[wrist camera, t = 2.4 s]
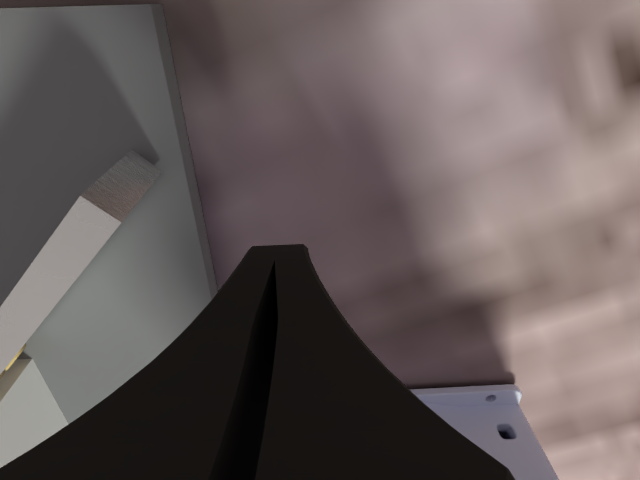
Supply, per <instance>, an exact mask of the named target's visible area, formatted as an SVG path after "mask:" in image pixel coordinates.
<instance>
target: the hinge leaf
mask: <svg viewBox="0 0 640 480" xmlns="http://www.w3.org/2000/svg"><path fill="white" fill-rule="evenodd" d="M161 172H162V171H161V170H159V169H158V168H157V167H155V166H154V165H153V164H151V163H150V162H149V161H147V160H146V159H145V158H143V157H142V156H140V155H139V154H138V153H136V152H135V151H134V150H130V151H129V152H128V153H127V154H126V155H125V156H124V157H123V158H122V159H120V160H119V161H118V162H117V163H116V164H115V165H114V166H113V167H112V168H110V169H109V170H108V171H107V172H106V173H105V174H104V175H103V176H102V177H100V178H99V179H98V180H97V181H96V182H95V183H94V184H93V185H91V186H90V187H89V188H88V189H87V190H86V191H85V192H84V193H83V194H81V195H80V197H79V198H78V199H77V201H76V202H75V204H74V205H73V206H72V208H71V209H70V211H69V212H68V213H67V215H66V216H65V217H64V219H63V220H62V222H61V223H60V224H59V226H58V227H57V229H56V230H55V231H54V233H53V234H52V236H51V237H50V238H49V240H48V241H47V243H46V244H45V245H44V247H43V248H42V250H41V251H40V252H39V254H38V255H37V256H36V258H35V259H34V261H33V262H32V263H31V265H30V266H29V268H28V269H27V270H26V272H25V273H24V275H23V276H22V277H21V279H20V280H19V282H18V283H17V284H16V286H15V287H14V289H13V290H12V291H11V293H10V294H9V296H8V297H7V298H6V300H5V301H4V302H3V304H2V305H1V307H0V379H1V378H2V377H3V375H4V374H5V368H6V367H7V366H8V364H9V363H10V362H11V361H12V359H13V358H14V357H15V356H16V354H17V353H18V352H19V351H20V349H21V348H22V347H23V346H24V344H25V343H26V342H27V341H28V339H29V338H30V337H31V336H32V334H33V333H34V332H35V330H36V329H37V328H38V327H39V325H40V324H41V323H42V322H43V320H44V319H45V318H46V317H47V315H48V314H49V313H50V312H51V310H52V309H53V308H54V307H55V305H56V304H57V303H58V302H59V300H60V299H61V298H62V297H63V295H64V294H65V293H66V292H67V290H68V289H69V288H70V287H71V285H72V284H73V283H74V282H75V280H76V279H77V278H78V277H79V275H80V274H81V273H82V272H83V270H84V269H85V268H86V267H87V265H88V264H89V263H90V262H91V260H92V259H93V258H94V256H95V255H96V254H97V253H98V251H99V250H100V249H101V248H102V246H103V245H104V244H105V243H106V241H107V240H108V239H109V238H110V236H111V235H112V234H113V233H114V231H115V230H116V229H117V228H118V226H119V225H120V224H121V223H122V221H123V220H124V219H125V218H126V216H127V215H128V214H129V213H130V211H131V210H132V209H133V208H134V206H135V205H136V204H137V202H138V201H139V200H140V199H141V197H142V196H143V195H144V194H145V192H146V191H147V190H148V189H149V187H150V186H151V185H152V184H153V182H154V181H155V180H156V179H157V177H158V176H159V175H160V174H161Z"/></svg>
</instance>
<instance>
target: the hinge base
mask: <svg viewBox="0 0 640 480" xmlns="http://www.w3.org/2000/svg"><path fill="white" fill-rule="evenodd" d="M130 150H134V151H135V152H136V153H138V154H139V155H140V156H142V157H143V158H145V159H146V160H147V161H149V162H150V163H151V164H153V165H154V166H155V167H157V168H158V169H159V170H161V171H162V172H161V174H160V175H159V176H158V177H157V179H156V180H155V181H154V182H153V184H152V185H151V186H150V187H149V189H148V190H147V191H146V192H145V194H144V195H143V196H142V197H141V199H140V200H139V201H138V202H137V204H136V205H135V206H134V208H133V209H132V210H131V211H130V213H129V214H128V215H127V216H126V218H125V219H124V220H123V221H122V223H121V224H120V225H119V226H118V228H117V229H116V230H115V231H114V233H113V234H112V235H111V236H110V238H109V239H108V240H107V241H106V243H105V244H104V245H103V246H102V248H101V249H100V250H99V251H98V253H97V254H96V255H95V256H94V258H93V259H92V260H91V262H90V263H89V264H88V265H87V267H86V268H85V269H84V270H83V272H82V273H81V274H80V275H79V277H78V278H77V279H76V280H75V282H74V283H73V284H72V285H71V287H70V288H69V289H68V290H67V292H66V293H65V294H64V295H63V297H62V298H61V299H60V300H59V302H58V303H57V304H56V305H55V307H54V308H53V309H52V310H51V312H50V313H49V314H48V315H47V317H46V318H45V319H44V320H43V322H42V323H41V324H40V325H39V327H38V328H37V329H36V330H35V332H34V333H33V334H32V336H31V337H30V338H29V339H28V341H27V342H26V343H25V344H24V346H23V347H22V348H21V349H20V351H19V352H18V353H17V354H16V356H15V357H14V358H13V359H12V361H11V362H10V363H9V364H8V366H7V367H6V368H5V374H4V375H3V377H2V378H1V379H0V468H1V467H3V466H4V465H6V464H7V463H9V462H11V461H12V460H14V459H16V458H17V457H19V456H21V455H22V454H24V453H26V452H27V451H29V450H30V449H32V448H34V447H35V446H37V445H38V444H40V443H41V442H43V441H44V440H46V439H47V438H49V437H50V436H52V435H53V434H55V433H56V432H58V431H59V430H61V429H62V428H64V427H65V426H67V425H68V424H70V423H71V422H73V421H74V420H76V419H77V418H79V417H80V416H81V415H83V414H84V413H85V412H87V411H88V410H90V409H91V408H92V407H94V406H95V405H97V404H98V403H99V402H101V401H102V400H104V399H105V398H106V397H108V396H109V395H110V394H111V393H113V392H114V391H115V390H116V389H118V388H119V387H120V386H121V385H123V384H124V383H125V382H126V381H128V380H129V379H130V378H131V377H133V376H134V375H135V374H136V373H138V372H139V371H140V370H141V369H143V368H144V367H145V366H146V365H148V364H149V363H150V362H151V361H152V360H154V359H155V358H156V357H157V356H158V355H159V354H160V353H161V352H162V351H163V350H164V349H165V348H167V347H168V346H169V345H170V344H171V343H172V342H173V341H174V340H175V339H176V338H177V337H178V336H179V335H180V334H181V333H182V332H183V331H184V330H185V329H186V328H187V327H188V326H189V325H190V324H191V322H192V321H193V320H194V319H195V318H196V317H197V316H198V315H199V314H200V312H201V311H202V310H203V309H204V308H205V307H206V306H207V305H208V304H209V302H210V301H211V300H212V299H213V298H214V296H215V295H216V294H217V293H218V289H217V284H216V279H215V274H214V269H213V264H212V258H211V253H210V248H209V243H208V238H207V233H206V227H205V222H204V217H203V212H202V207H201V202H200V197H199V191H198V186H197V181H196V176H195V171H194V166H193V161H192V155H191V150H190V145H189V140H188V135H187V130H186V124H185V119H184V114H183V109H182V104H181V99H180V94H179V88H178V83H177V78H176V73H175V68H174V63H173V58H172V52H171V47H170V42H169V37H168V32H167V27H166V21H165V16H164V11H163V6H162V4H132V5H96V6H61V7H25V8H0V307H1V305H2V304H3V302H4V301H5V300H6V298H7V297H8V296H9V294H10V293H11V291H12V290H13V289H14V287H15V286H16V284H17V283H18V282H19V280H20V279H21V277H22V276H23V275H24V273H25V272H26V270H27V269H28V268H29V266H30V265H31V263H32V262H33V261H34V259H35V258H36V256H37V255H38V254H39V252H40V251H41V250H42V248H43V247H44V245H45V244H46V243H47V241H48V240H49V238H50V237H51V236H52V234H53V233H54V231H55V230H56V229H57V227H58V226H59V224H60V223H61V222H62V220H63V219H64V217H65V216H66V215H67V213H68V212H69V211H70V209H71V208H72V206H73V205H74V204H75V202H76V201H77V199H78V198H79V197H80V195H81V194H83V193H84V192H85V191H86V190H87V189H88V188H89V187H90V186H91V185H93V184H94V183H95V182H96V181H97V180H98V179H99V178H100V177H102V176H103V175H104V174H105V173H106V172H107V171H108V170H109V169H110V168H112V167H113V166H114V165H115V164H116V163H117V162H118V161H119V160H120V159H122V158H123V157H124V156H125V155H126V154H127V153H128V152H129V151H130Z"/></svg>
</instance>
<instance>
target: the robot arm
mask: <svg viewBox="0 0 640 480" xmlns="http://www.w3.org/2000/svg"><path fill="white" fill-rule="evenodd" d="M521 396H522V393H521V391H520V390H519V388H518V386H516V385H513V384H505V385H486V386H466V387H447V388H428V389H408V388H407V387H406V386H405V385H404V384H403V383H402V382H401V381H400V380H399V379H398V378H396V377H395V376H394V375H393V374H392V373H391V372H390V371H389V370H388V369H387V368H386V367H385V366H384V365H383V364H382V363H381V362H380V360H379V359H378V358H377V357H376V356H375V355H374V354H373V353H372V352H371V351H370V350H369V348H368V347H367V346H366V345H365V344H364V343H363V341H362V340H361V339H360V338H359V337H358V335H357V334H356V333H355V332H354V330H353V329H352V328H351V327H350V325H349V324H348V323H347V321H346V320H345V318H344V317H343V316H342V314H341V313H340V311H339V310H338V309H337V307H336V306H335V304H334V302H333V301H332V299H331V298H330V296H329V294H328V293H327V291H326V289H325V288H324V286H323V284H322V282H321V281H320V279H319V277H318V275H317V273H316V271H315V269H314V266H313V264H312V262H311V259H310V256H309V253H308V248H307V247H306V246H305V245H303V244H295V245H273V246H252V247H251V248H250V249H249V250H248V252H247V253H246V255H245V256H244V258H243V259H242V261H241V262H240V264H239V265H238V266H237V268H236V269H235V270H234V272H233V273H232V275H231V276H230V277H229V279H228V280H227V281H226V282H225V284H224V285H223V286H222V287H221V289H220V290H219V291H218V293H217V294H216V295H215V296H214V298H213V299H212V300H211V301H210V302H209V304H208V305H207V306H206V307H205V308H204V309H203V310H202V311H201V312H200V314H199V315H198V316H197V317H196V318H195V319H194V320H193V321H192V322H191V324H190V325H189V326H188V327H187V328H186V329H185V330H184V331H183V332H182V333H181V334H180V335H179V336H178V337H177V338H176V339H175V340H174V341H173V342H172V343H171V344H170V345H169V346H168V347H167V348H165V349H164V350H163V351H162V352H161V353H160V354H159V355H158V356H157V357H156V358H155V359H154V360H152V361H151V362H150V363H149V364H148V365H146V366H145V367H144V368H143V369H141V370H140V371H139V372H138V373H136V374H135V375H134V376H133V377H131V378H130V379H129V380H128V381H126V382H125V383H124V384H123V385H121V386H120V387H119V388H118V389H116V390H115V391H114V392H113V393H111V394H110V395H109V396H108V397H106V398H105V399H104V400H102V401H101V402H99V403H98V404H97V405H95V406H94V407H92V408H91V409H90V410H88V411H87V412H85V413H84V414H83V415H81V416H80V417H79V418H77V419H76V420H74V421H73V422H71V423H70V424H68V425H67V426H65V427H64V428H62V429H61V430H59V431H58V432H56V433H55V434H53V435H52V436H50V437H49V438H47V439H46V440H44V441H43V442H41V443H40V444H38V445H37V446H35V447H34V448H32V449H30V450H29V451H27V452H26V453H24V454H22V455H21V456H19V457H17V458H16V459H14V460H12V461H11V462H9V463H7V464H6V465H4V466H3V467H1V468H0V480H559V479H558V477H557V475H556V473H555V471H554V469H553V468H552V466H551V464H550V462H549V460H548V458H547V456H546V455H545V453H544V451H543V449H542V447H541V445H540V443H539V442H538V440H537V438H536V436H535V434H534V432H533V430H532V429H531V427H530V425H529V423H528V421H527V419H526V417H525V416H524V414H523V412H522V410H521V408H520V406H519V405H518V404H519V402H520V399H521Z"/></svg>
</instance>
